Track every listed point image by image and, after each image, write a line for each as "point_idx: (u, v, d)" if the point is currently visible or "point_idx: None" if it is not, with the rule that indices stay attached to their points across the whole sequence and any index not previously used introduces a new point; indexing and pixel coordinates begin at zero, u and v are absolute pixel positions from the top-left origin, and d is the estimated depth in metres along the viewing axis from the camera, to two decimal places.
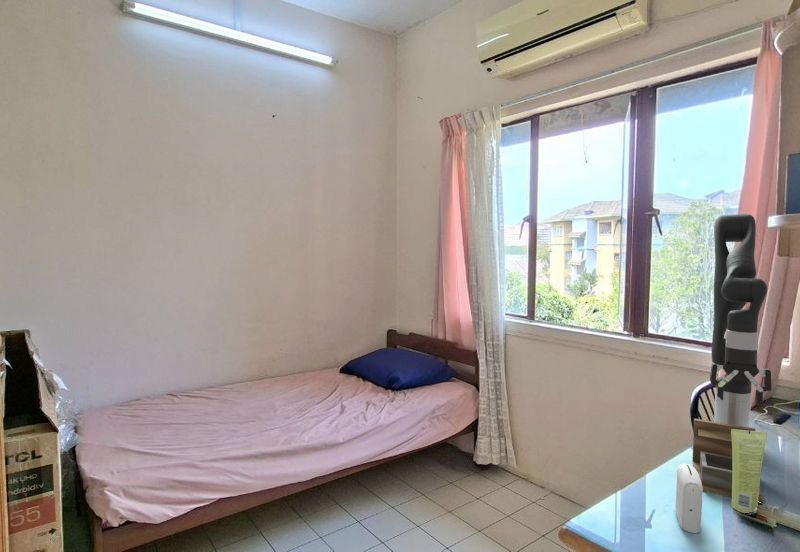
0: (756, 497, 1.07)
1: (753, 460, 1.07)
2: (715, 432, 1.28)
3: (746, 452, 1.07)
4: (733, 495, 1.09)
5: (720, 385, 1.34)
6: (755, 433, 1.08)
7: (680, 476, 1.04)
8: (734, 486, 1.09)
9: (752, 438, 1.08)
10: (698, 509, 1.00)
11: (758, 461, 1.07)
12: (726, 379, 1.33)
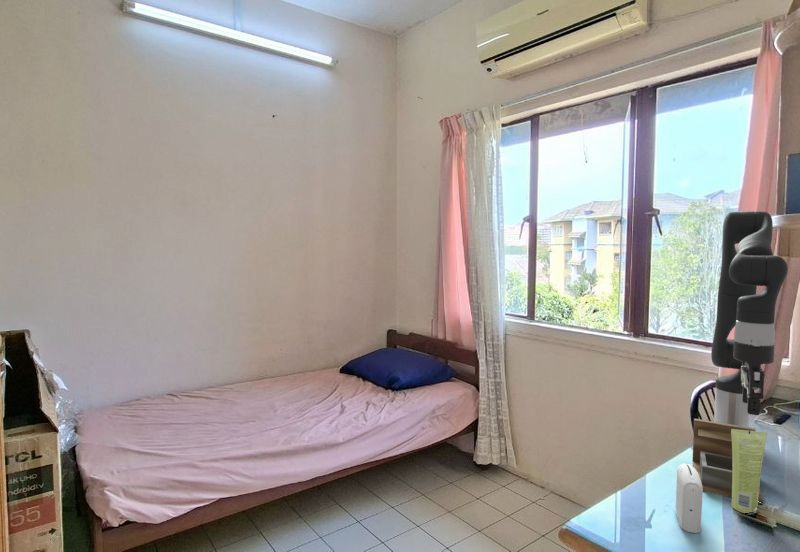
0: (756, 497, 1.07)
1: (753, 460, 1.07)
2: (715, 432, 1.28)
3: (746, 452, 1.07)
4: (733, 495, 1.09)
5: None
6: (755, 433, 1.08)
7: (680, 476, 1.04)
8: (734, 486, 1.09)
9: (752, 438, 1.08)
10: (698, 509, 1.00)
11: (758, 461, 1.07)
12: None
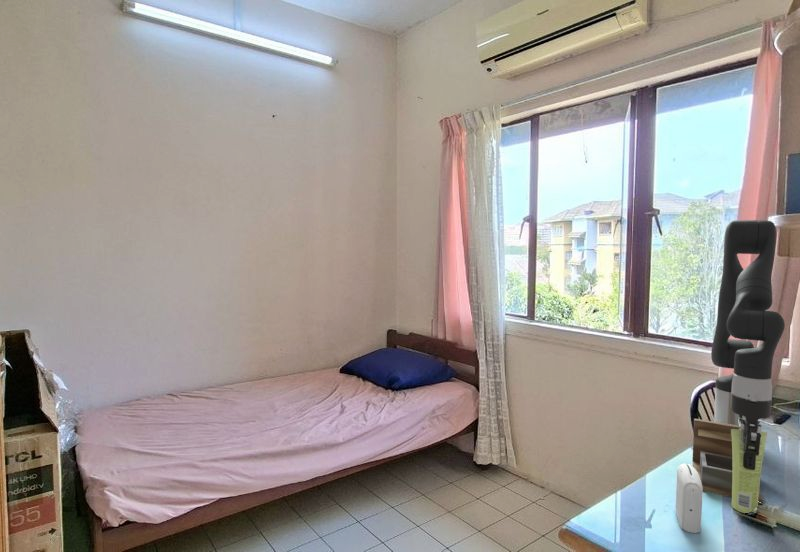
0: (756, 497, 1.07)
1: None
2: (715, 432, 1.28)
3: None
4: (733, 495, 1.09)
5: None
6: None
7: (680, 476, 1.04)
8: (734, 486, 1.09)
9: None
10: (698, 509, 1.00)
11: (758, 461, 1.07)
12: None
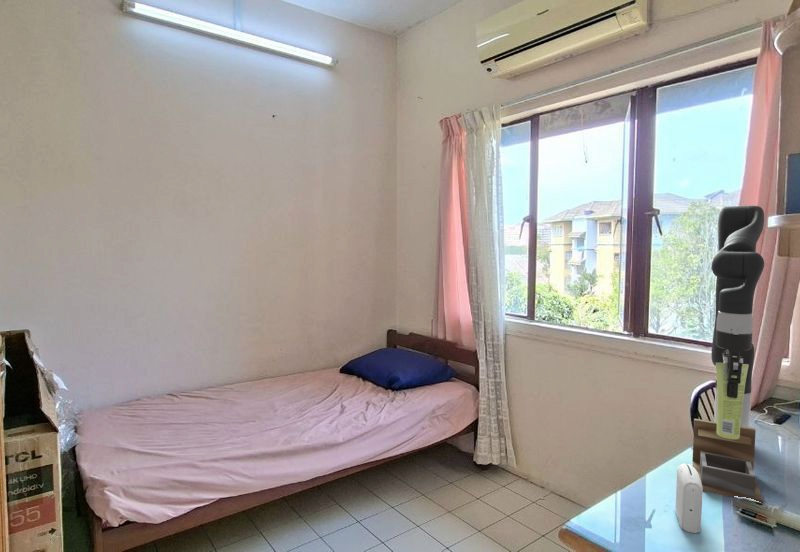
0: (738, 423, 1.17)
1: None
2: (715, 432, 1.28)
3: None
4: (718, 423, 1.19)
5: None
6: None
7: (680, 476, 1.04)
8: (719, 415, 1.19)
9: None
10: (698, 509, 1.00)
11: (740, 390, 1.16)
12: (741, 372, 1.15)
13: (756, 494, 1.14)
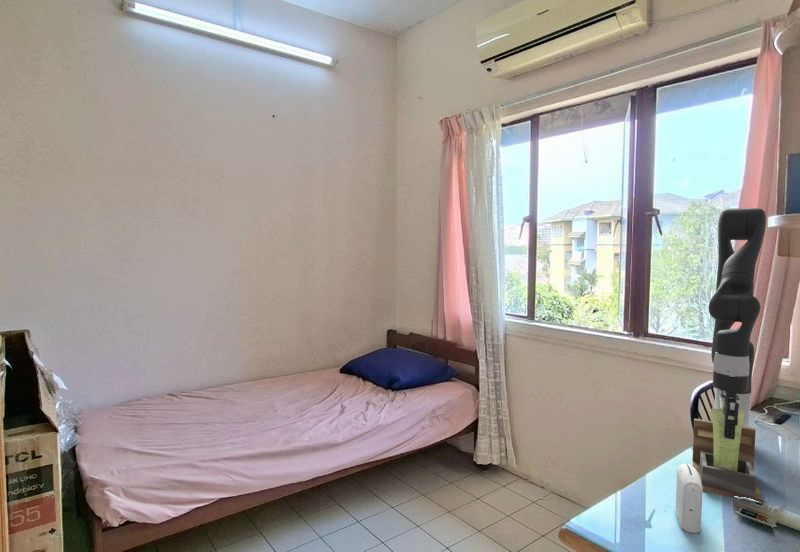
0: (735, 469, 1.18)
1: None
2: None
3: None
4: None
5: None
6: None
7: (680, 476, 1.04)
8: (715, 460, 1.20)
9: (731, 416, 1.18)
10: (698, 509, 1.00)
11: (736, 437, 1.17)
12: (738, 413, 1.15)
13: (756, 494, 1.14)
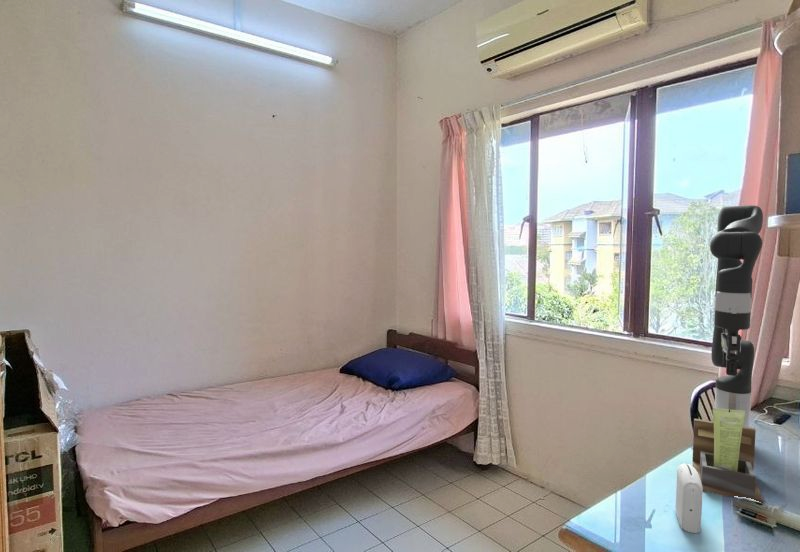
0: (735, 469, 1.18)
1: (732, 436, 1.18)
2: None
3: (726, 429, 1.18)
4: None
5: None
6: (735, 411, 1.19)
7: (680, 476, 1.04)
8: (715, 460, 1.20)
9: (732, 416, 1.19)
10: (698, 509, 1.00)
11: (737, 437, 1.18)
12: (740, 350, 1.15)
13: (756, 494, 1.14)
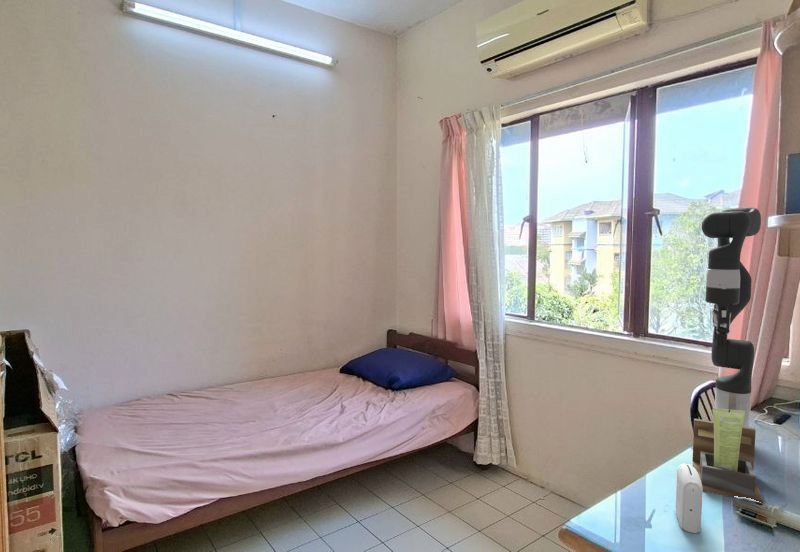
0: (735, 469, 1.18)
1: (732, 436, 1.18)
2: None
3: (726, 429, 1.18)
4: None
5: None
6: (735, 411, 1.19)
7: (680, 476, 1.04)
8: (715, 460, 1.20)
9: (731, 416, 1.19)
10: (698, 509, 1.00)
11: (736, 437, 1.18)
12: None
13: (756, 494, 1.14)
